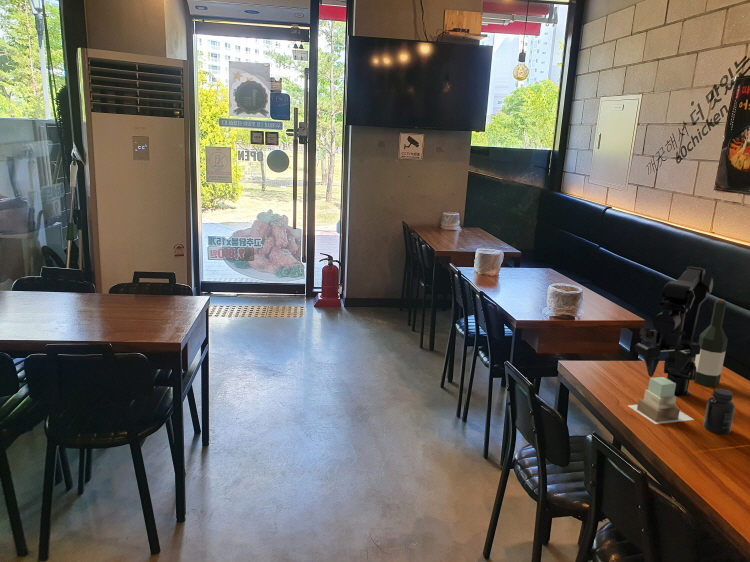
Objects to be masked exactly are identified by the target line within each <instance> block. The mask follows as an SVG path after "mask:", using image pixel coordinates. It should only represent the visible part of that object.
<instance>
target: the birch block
mask: <svg viewBox="0 0 750 562" xmlns="http://www.w3.org/2000/svg"><path fill="white" fill-rule="evenodd" d="M677 397H678V396H671V397H658V396H657V395H655V394H653V393H652V392H650V391H648V389H645V390H644V396H643V399H644V401H645V402H647V403H649V404H650V405H652V406H653V407H655V408H657V409H666V408H675V406H676V402H677Z"/></svg>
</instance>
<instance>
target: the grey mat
mask: <svg viewBox="0 0 750 562" xmlns="http://www.w3.org/2000/svg"><path fill="white" fill-rule="evenodd" d="M637 405H638V403H637V404H629V405H627V406H628V407H629V408H630V409H632V410H634V412H636V413H638V414H640V415H641V416H642V417H644V418H645V419H647V420H649V422H651V423H653V424H654V425H659V424H669V423H670V424H671V423H677V422H678V423H679V422H686V421H694V420H695V419H694V418H692V417H690V416H689V415H687V414H686V413H684V412H683V411H681V410H680V412H679V417H678V420H670V421H661V422H655V421H653V420H652V419H650V418H649V417H647V416H646V415H644V414H643V413H641V412H640V411H638V410H637Z"/></svg>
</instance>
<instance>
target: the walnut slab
mask: <svg viewBox="0 0 750 562" xmlns="http://www.w3.org/2000/svg"><path fill="white" fill-rule="evenodd" d="M637 404H638V405H637ZM637 404H636V405H637V410H638V411H640V412H641V413H643V414H644V415H646V416H647V417H649V418H650V419H652V420H653V421H655V422H661V421H670V420H678V417H679V412H680V411H681V409H680V407H678V406H676V405H675V408H666V409H657V408H655V407H653V406H652V405H650V404H649V403H647V402H645V401H644V398H639V399H638V400H637Z"/></svg>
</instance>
